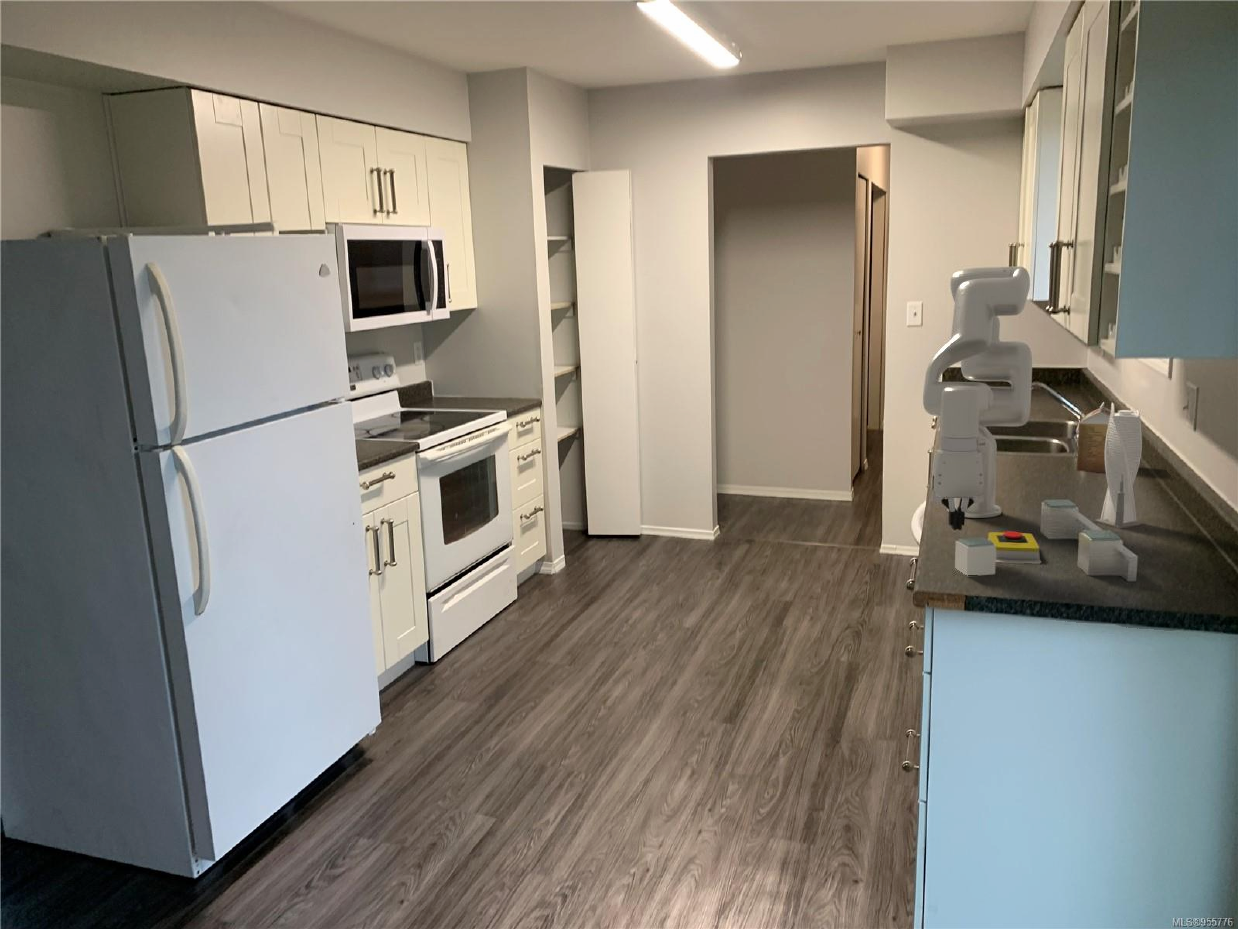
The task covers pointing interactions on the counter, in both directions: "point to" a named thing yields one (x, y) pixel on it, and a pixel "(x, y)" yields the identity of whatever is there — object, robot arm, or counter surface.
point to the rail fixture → (1088, 540)
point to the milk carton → (1093, 440)
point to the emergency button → (1015, 547)
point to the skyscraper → (1121, 468)
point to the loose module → (975, 556)
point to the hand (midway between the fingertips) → (956, 528)
